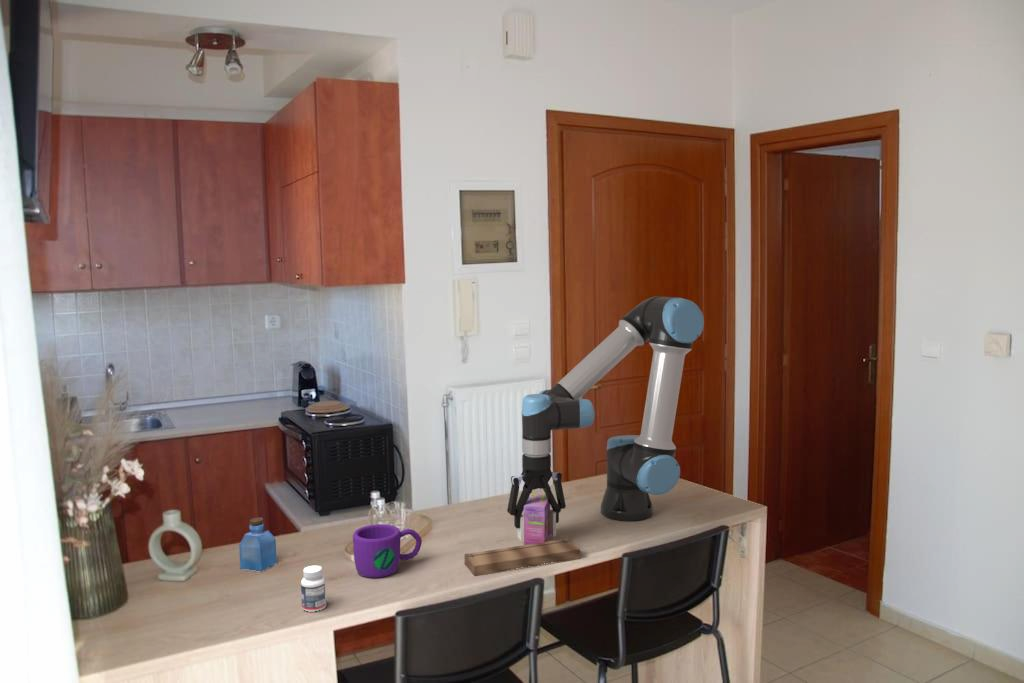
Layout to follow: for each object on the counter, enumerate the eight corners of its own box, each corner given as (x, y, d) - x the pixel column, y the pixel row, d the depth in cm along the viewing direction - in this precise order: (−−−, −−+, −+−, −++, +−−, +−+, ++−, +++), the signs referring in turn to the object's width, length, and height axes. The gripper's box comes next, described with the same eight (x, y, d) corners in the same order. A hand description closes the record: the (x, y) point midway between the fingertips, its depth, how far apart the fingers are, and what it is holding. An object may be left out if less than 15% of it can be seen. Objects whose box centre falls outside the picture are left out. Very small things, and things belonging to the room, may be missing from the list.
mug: (362, 584, 187) (361, 543, 186) (348, 567, 197) (346, 528, 196) (431, 569, 196) (430, 529, 195) (413, 554, 206) (412, 516, 204)
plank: (566, 547, 209) (566, 538, 208) (580, 558, 201) (580, 548, 201) (464, 563, 199) (464, 553, 198) (474, 576, 191) (474, 565, 191)
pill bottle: (304, 602, 178) (302, 564, 177) (327, 601, 178) (326, 563, 177) (300, 613, 173) (298, 574, 172) (324, 612, 173) (322, 572, 172)
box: (545, 551, 207) (544, 506, 205) (523, 549, 208) (522, 505, 206) (550, 536, 217) (550, 494, 215) (530, 535, 218) (529, 493, 216)
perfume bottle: (276, 562, 201) (274, 516, 199) (261, 572, 195) (259, 525, 194) (256, 560, 203) (253, 514, 201) (240, 569, 197) (237, 522, 196)
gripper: (567, 446, 216) (567, 527, 219) (493, 454, 208) (494, 537, 211) (579, 453, 209) (579, 536, 212) (503, 461, 201) (504, 547, 204)
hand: (536, 537), depth 211 cm, fingers closed on box, 8 cm apart
